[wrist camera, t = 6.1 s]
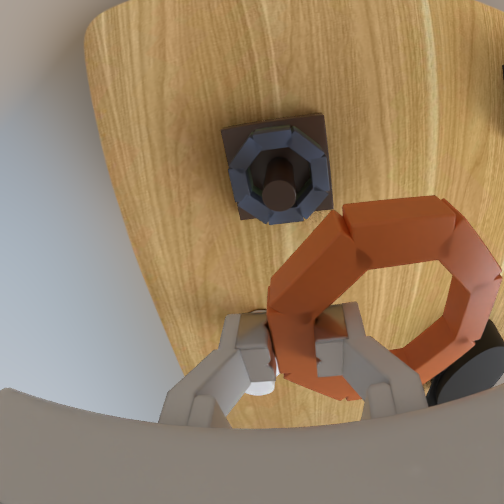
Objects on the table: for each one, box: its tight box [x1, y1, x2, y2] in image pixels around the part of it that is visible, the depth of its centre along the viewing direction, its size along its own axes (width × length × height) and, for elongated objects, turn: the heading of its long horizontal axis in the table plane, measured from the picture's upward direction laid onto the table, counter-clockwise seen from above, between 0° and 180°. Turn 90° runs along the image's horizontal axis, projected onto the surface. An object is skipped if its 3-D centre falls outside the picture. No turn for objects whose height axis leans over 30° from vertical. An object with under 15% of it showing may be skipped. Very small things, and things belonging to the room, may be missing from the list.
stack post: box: [221, 113, 334, 225], centre depth 25 cm, size 9×9×8 cm
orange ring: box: [266, 195, 502, 401], centre depth 9 cm, size 8×8×1 cm
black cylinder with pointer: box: [426, 319, 504, 407], centre depth 38 cm, size 14×18×8 cm
